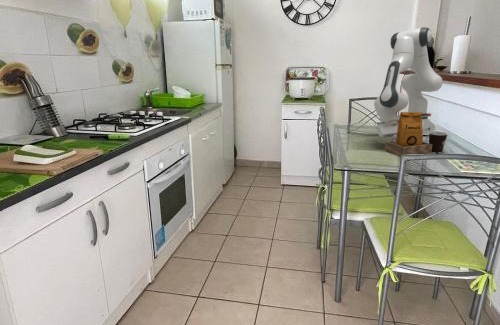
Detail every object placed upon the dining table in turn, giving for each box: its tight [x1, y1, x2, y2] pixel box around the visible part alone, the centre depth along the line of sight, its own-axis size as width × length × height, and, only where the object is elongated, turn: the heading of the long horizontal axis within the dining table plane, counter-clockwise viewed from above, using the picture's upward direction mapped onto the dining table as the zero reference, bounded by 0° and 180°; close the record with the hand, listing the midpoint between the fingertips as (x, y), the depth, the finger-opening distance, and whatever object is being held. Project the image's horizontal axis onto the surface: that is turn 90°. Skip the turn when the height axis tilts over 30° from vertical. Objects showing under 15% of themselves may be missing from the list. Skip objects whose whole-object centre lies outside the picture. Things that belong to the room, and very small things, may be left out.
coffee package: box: [395, 111, 424, 147], centre depth 176 cm, size 10×12×22 cm
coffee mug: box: [428, 131, 448, 153], centre depth 178 cm, size 12×9×10 cm
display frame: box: [384, 141, 432, 157], centre depth 179 cm, size 18×14×5 cm
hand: (399, 141), depth 183 cm, fingers closed
